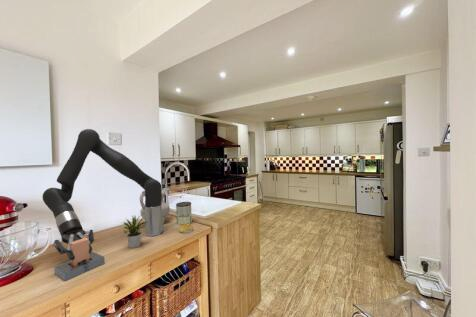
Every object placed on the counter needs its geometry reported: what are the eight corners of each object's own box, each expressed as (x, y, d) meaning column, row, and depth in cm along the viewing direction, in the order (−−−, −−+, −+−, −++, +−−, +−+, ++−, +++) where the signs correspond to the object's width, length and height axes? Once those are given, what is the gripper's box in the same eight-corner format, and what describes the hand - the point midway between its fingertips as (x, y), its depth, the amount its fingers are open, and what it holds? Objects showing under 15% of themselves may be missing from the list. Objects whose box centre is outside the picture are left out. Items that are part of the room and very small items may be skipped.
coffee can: (174, 223, 139) (173, 203, 139) (188, 219, 146) (187, 200, 146) (180, 226, 131) (179, 205, 131) (194, 223, 138) (193, 203, 138)
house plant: (133, 255, 95) (132, 221, 94) (111, 251, 99) (110, 219, 99) (154, 242, 108) (153, 212, 108) (134, 240, 112) (132, 211, 112)
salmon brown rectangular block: (86, 261, 87) (85, 237, 87) (89, 263, 86) (88, 239, 86) (70, 268, 83) (69, 242, 83) (74, 270, 81) (73, 244, 81)
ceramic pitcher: (156, 230, 129) (158, 192, 128) (130, 227, 132) (132, 190, 132) (174, 220, 150) (175, 187, 149) (151, 217, 154) (152, 185, 153)
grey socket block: (93, 258, 93) (93, 251, 93) (104, 263, 88) (104, 256, 88) (54, 274, 81) (54, 266, 81) (64, 281, 76) (64, 273, 76)
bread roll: (185, 227, 130) (185, 221, 130) (195, 230, 125) (195, 223, 125) (175, 232, 123) (175, 225, 123) (185, 234, 118) (185, 227, 118)
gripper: (49, 223, 82) (62, 259, 76) (89, 214, 94) (103, 244, 88) (45, 234, 84) (57, 269, 78) (84, 223, 97) (98, 253, 91)
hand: (82, 255), depth 83 cm, fingers closed on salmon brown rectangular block, 5 cm apart
